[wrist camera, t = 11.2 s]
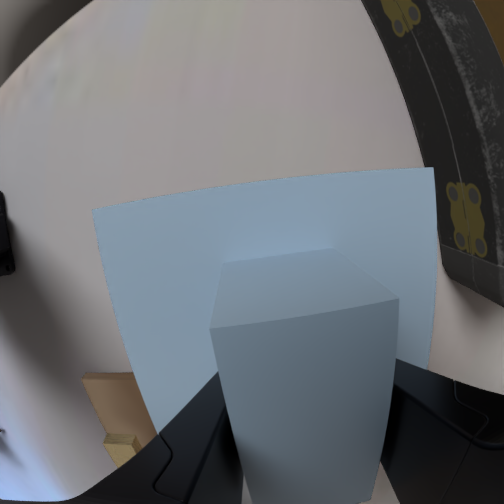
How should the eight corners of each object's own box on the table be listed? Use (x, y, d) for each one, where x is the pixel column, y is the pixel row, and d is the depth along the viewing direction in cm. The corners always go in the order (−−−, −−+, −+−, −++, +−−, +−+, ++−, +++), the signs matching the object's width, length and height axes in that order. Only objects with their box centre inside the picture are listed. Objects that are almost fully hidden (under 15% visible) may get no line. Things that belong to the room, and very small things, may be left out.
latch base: (147, 490, 25) (137, 529, 19) (85, 372, 21) (56, 413, 16) (360, 472, 25) (374, 511, 19) (373, 343, 21) (404, 384, 16)
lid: (177, 440, 12) (156, 544, 6) (111, 205, 10) (0, 232, 4) (402, 405, 12) (457, 491, 6) (410, 168, 10) (530, 168, 4)
